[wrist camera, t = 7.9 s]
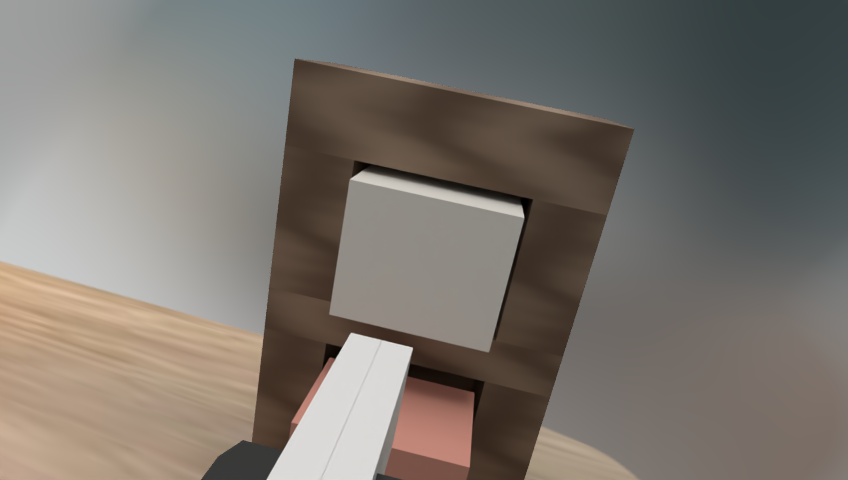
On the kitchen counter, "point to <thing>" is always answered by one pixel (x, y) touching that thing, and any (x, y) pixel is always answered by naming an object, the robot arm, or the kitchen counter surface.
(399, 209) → the white key
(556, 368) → the key panel
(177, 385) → the kitchen counter surface
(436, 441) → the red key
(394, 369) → the robot arm
